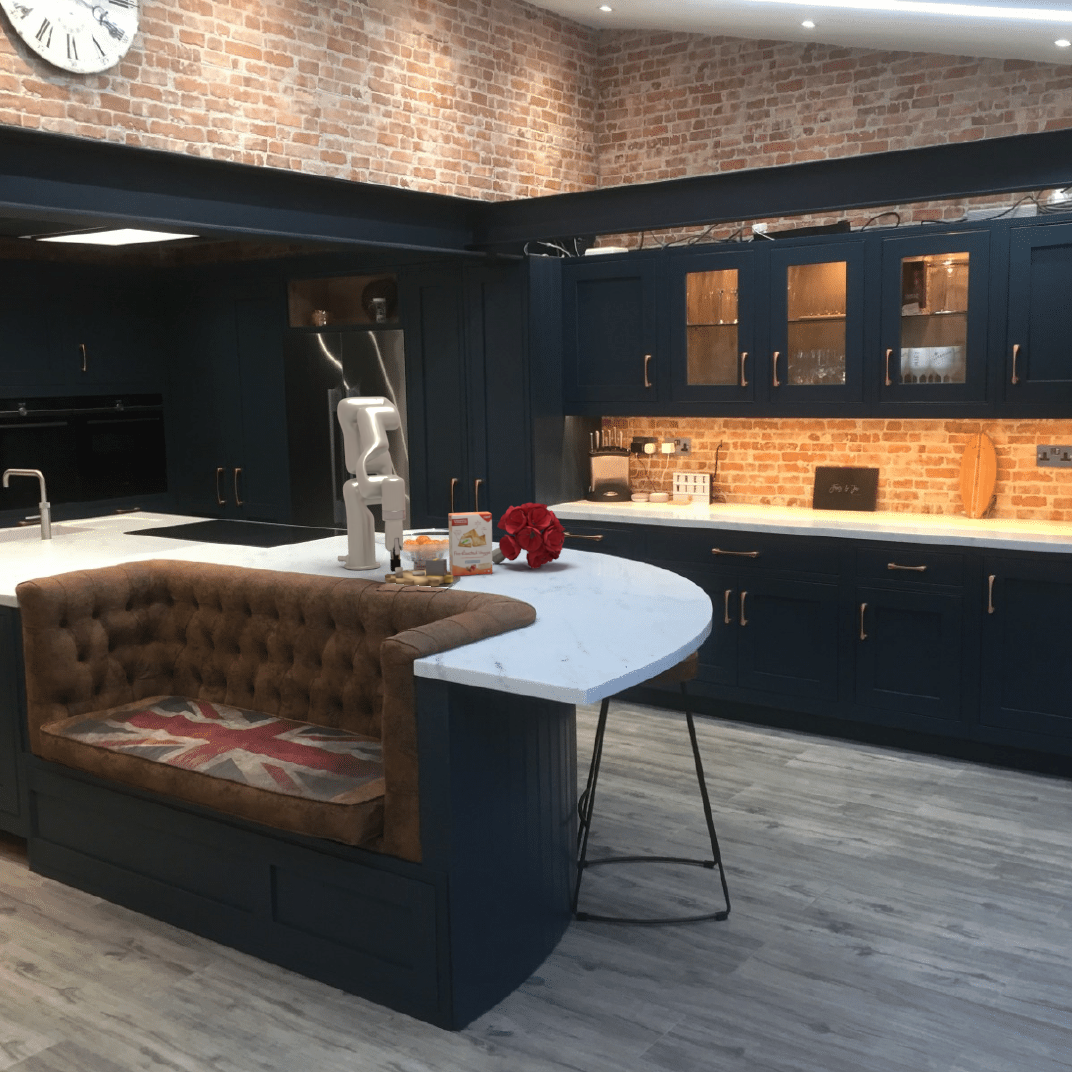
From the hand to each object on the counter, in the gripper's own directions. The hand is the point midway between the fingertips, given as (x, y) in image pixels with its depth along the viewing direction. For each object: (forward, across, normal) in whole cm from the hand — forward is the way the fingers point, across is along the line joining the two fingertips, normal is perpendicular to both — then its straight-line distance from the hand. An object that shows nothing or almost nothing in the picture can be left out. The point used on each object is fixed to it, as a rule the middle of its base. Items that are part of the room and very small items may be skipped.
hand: (395, 571), depth 383 cm
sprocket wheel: (+3, +7, +6) cm, 10 cm away
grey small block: (0, +9, +12) cm, 15 cm away
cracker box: (+4, -8, +27) cm, 28 cm away
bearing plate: (+4, +7, +6) cm, 10 cm away
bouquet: (+4, -16, +48) cm, 51 cm away
